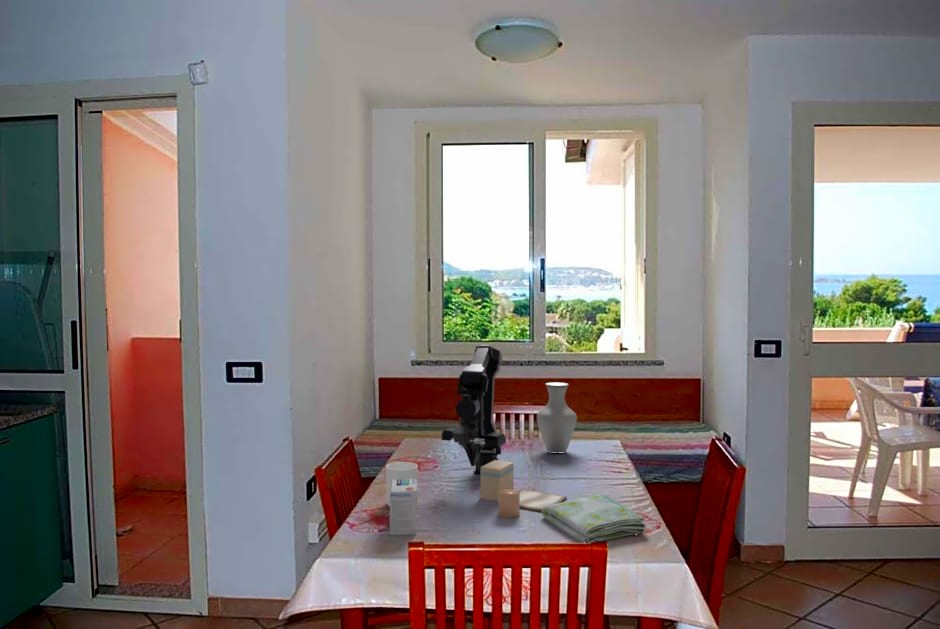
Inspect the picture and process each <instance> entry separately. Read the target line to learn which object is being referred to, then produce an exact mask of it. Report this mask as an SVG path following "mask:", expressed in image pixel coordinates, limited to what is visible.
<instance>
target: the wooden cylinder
mask: <svg viewBox="0 0 940 629" xmlns="http://www.w3.org/2000/svg"><path fill="white" fill-rule="evenodd" d="M519 491H520V490H517V489H514V488H513V489H504V490H500V491H499V492H498V501H497V503H498V506H497V507H498V509H497V510H498V514H497V515H498V517H500V518H503V519H516V518H519V517H520V516H521V512H520V511H521V510H520V509H521V508H520V492H519Z"/></svg>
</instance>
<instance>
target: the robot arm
mask: <svg viewBox="0 0 940 629" xmlns="http://www.w3.org/2000/svg"><path fill="white" fill-rule="evenodd" d="M473 353H474V354H473V358H472V361H471V362H470V365H468V366H465V367H463V369H462V371H461V373H460V374H459V377H458V385H457V391H456V395H457V396H461V399H460V400H459V401H458V402H457V403H456V406H455V413H456V415H457V417H458V418H460V423H459V424H458V425H457V426H455V427H449V428H446V429H443V430H442V431H441V433H440V434H441V437H440V439H441V440H442V441H450V442H451V440H453V441H454V443H457V444H458V445H460V446H461V447H462V448H463V449H464V451H465V453H466V455H467V458H468V462H469V463H470V466H471V467H475V470H473V471H472V473H473V472H474V473H473V474H477V473H480V471H481V467H482V466H484V465H486V464H488V463H490V462H492V461H494V460H499V458H498V456H499V455H501V454H502V446H503V445H504V444H506V442H507V440H506V439H507V438H506V435H505V434H504V433H502V432H501V433H500V432H498V430H497V429H496V426H495V425H494V399H495V380H496V379H495V378H496V376H497V375H498V373H500V369H501V366H502V363H503V355H502V352H501V350H499V349H497V348H494V346H493V345H491V344H478V345H476V346H475V350H474V352H473Z"/></svg>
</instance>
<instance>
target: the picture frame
mask: <svg viewBox="0 0 940 629" xmlns="http://www.w3.org/2000/svg"><path fill="white" fill-rule="evenodd" d="M518 491H519V492H520V509H521V510H527V511H533V512H539V513H542V509H543V508H544V507H546V506H549V505H553V504H557V503H562V502H565V501H567V499H568V498H567V497H568V496H565V495H557V494H552V493H546V492H541V491H540V492H539V491H534V490H527V489H520V490H518Z"/></svg>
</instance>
